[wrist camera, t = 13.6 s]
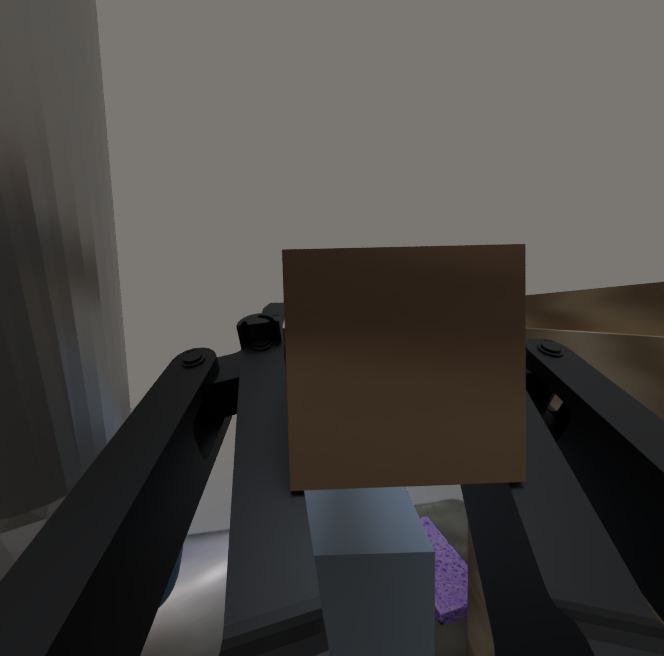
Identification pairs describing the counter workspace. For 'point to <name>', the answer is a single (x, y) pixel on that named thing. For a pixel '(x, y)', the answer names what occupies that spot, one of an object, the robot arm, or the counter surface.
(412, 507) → the blue step
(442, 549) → the sponges
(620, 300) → the oak post
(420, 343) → the walnut bar
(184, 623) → the counter surface
